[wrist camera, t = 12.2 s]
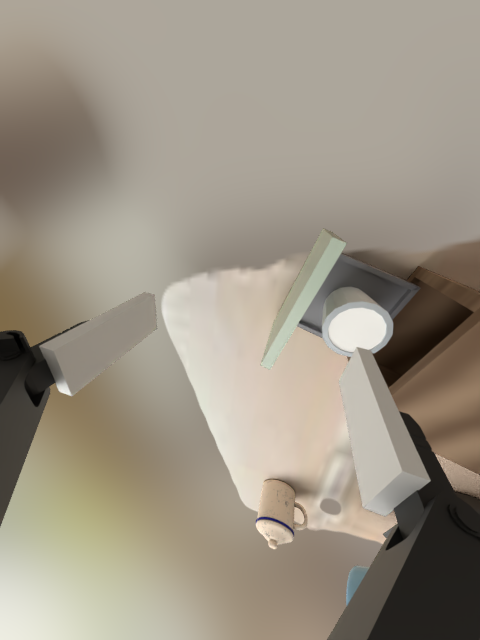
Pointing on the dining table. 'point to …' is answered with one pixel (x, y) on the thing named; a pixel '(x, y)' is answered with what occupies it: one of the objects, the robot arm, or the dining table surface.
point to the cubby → (438, 365)
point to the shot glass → (354, 322)
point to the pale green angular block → (321, 280)
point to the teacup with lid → (278, 513)
